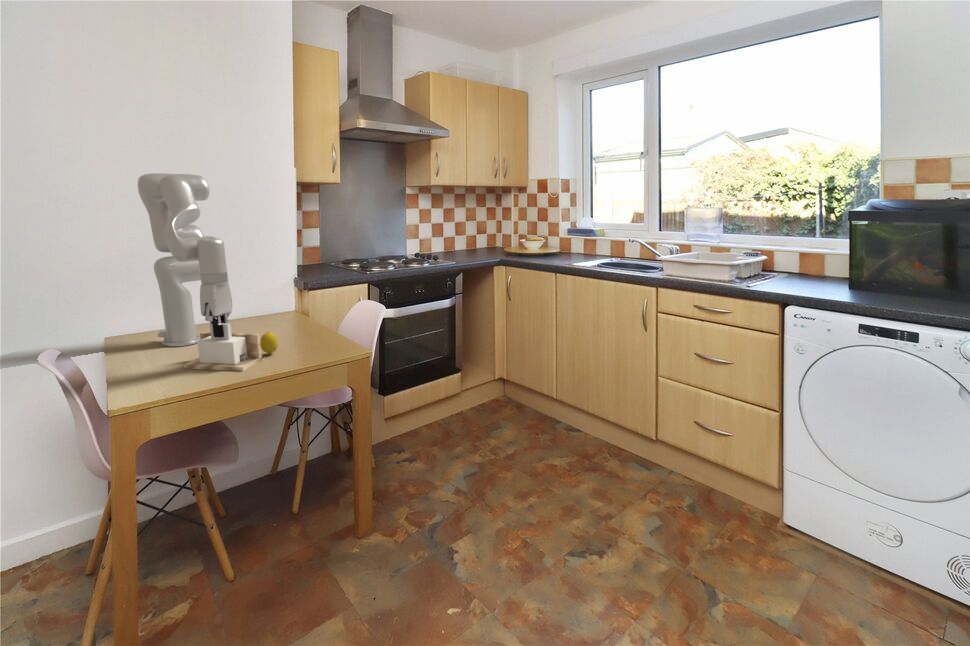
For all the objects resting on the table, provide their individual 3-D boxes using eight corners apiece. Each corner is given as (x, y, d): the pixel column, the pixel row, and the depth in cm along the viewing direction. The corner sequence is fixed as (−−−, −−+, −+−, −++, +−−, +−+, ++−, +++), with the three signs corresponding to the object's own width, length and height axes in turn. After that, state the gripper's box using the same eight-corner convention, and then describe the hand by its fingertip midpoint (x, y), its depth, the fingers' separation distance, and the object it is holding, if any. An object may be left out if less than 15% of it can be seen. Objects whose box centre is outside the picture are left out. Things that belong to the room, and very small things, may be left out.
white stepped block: (199, 362, 172) (195, 325, 169) (213, 356, 179) (209, 320, 176) (235, 364, 170) (231, 326, 168) (247, 357, 177) (244, 321, 174)
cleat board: (183, 368, 171) (180, 340, 169) (205, 358, 181) (202, 332, 179) (243, 371, 168) (240, 342, 166) (262, 360, 179) (259, 334, 177)
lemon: (272, 351, 189) (270, 329, 187) (282, 353, 186) (280, 331, 184) (258, 355, 185) (255, 332, 183) (268, 357, 182) (265, 334, 180)
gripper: (218, 274, 177) (225, 329, 181) (186, 282, 162) (194, 342, 166) (240, 275, 176) (246, 330, 180) (209, 282, 161) (217, 343, 165)
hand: (221, 335), depth 173 cm, fingers closed on white stepped block, 1 cm apart
